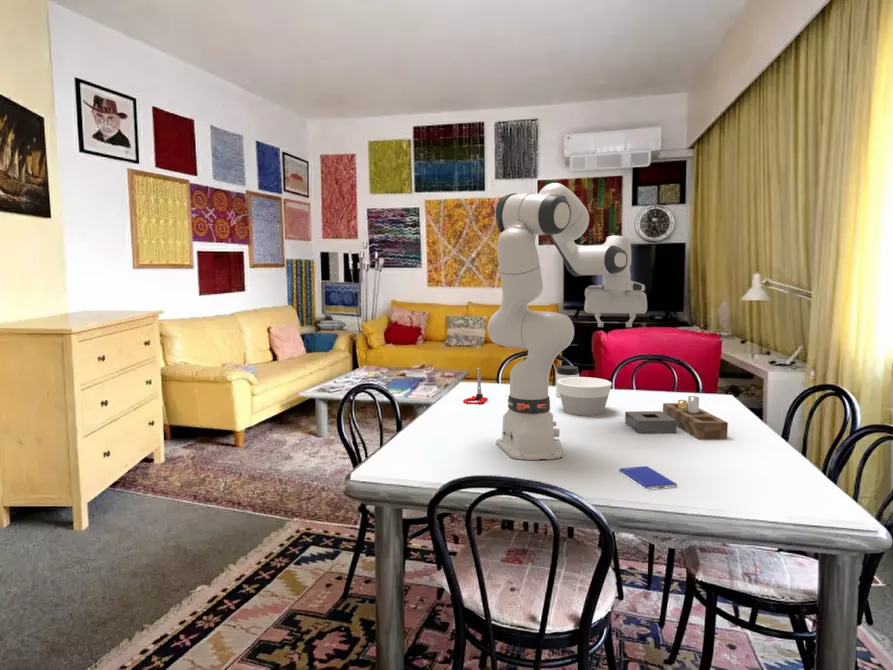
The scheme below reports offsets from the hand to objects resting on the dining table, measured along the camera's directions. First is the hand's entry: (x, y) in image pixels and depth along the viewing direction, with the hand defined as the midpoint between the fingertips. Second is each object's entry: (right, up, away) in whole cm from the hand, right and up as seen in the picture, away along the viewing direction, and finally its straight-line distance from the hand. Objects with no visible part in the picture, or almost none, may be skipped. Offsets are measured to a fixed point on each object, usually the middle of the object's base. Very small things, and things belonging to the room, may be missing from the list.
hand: (614, 327), depth 196 cm
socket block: (+9, -33, -7) cm, 35 cm away
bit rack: (+23, -33, -6) cm, 40 cm away
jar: (-8, -28, +40) cm, 49 cm away
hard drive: (-7, -39, -53) cm, 66 cm away
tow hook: (-45, -29, +31) cm, 62 cm away
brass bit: (+23, -32, +2) cm, 39 cm away
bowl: (-7, -30, +16) cm, 35 cm away
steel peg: (+23, -33, -6) cm, 40 cm away
